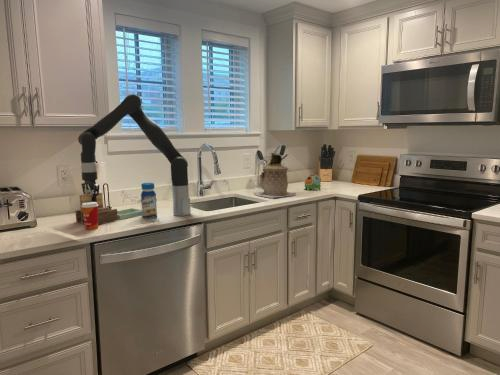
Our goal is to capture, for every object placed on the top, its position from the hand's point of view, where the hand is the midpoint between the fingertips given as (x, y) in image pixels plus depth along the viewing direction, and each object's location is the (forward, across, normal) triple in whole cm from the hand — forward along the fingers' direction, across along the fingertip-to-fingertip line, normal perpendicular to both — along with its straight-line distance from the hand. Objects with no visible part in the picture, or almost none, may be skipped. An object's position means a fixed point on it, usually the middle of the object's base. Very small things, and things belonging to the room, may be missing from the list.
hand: (91, 202), depth 199 cm
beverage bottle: (+11, -18, -23) cm, 31 cm away
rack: (+11, -4, 0) cm, 12 cm away
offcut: (+9, -5, 0) cm, 10 cm away
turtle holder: (+11, -44, -165) cm, 171 cm away
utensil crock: (+11, -33, -125) cm, 130 cm away
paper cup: (+11, -16, +10) cm, 22 cm away
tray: (+11, -6, -17) cm, 21 cm away
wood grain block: (+9, 0, 0) cm, 9 cm away
